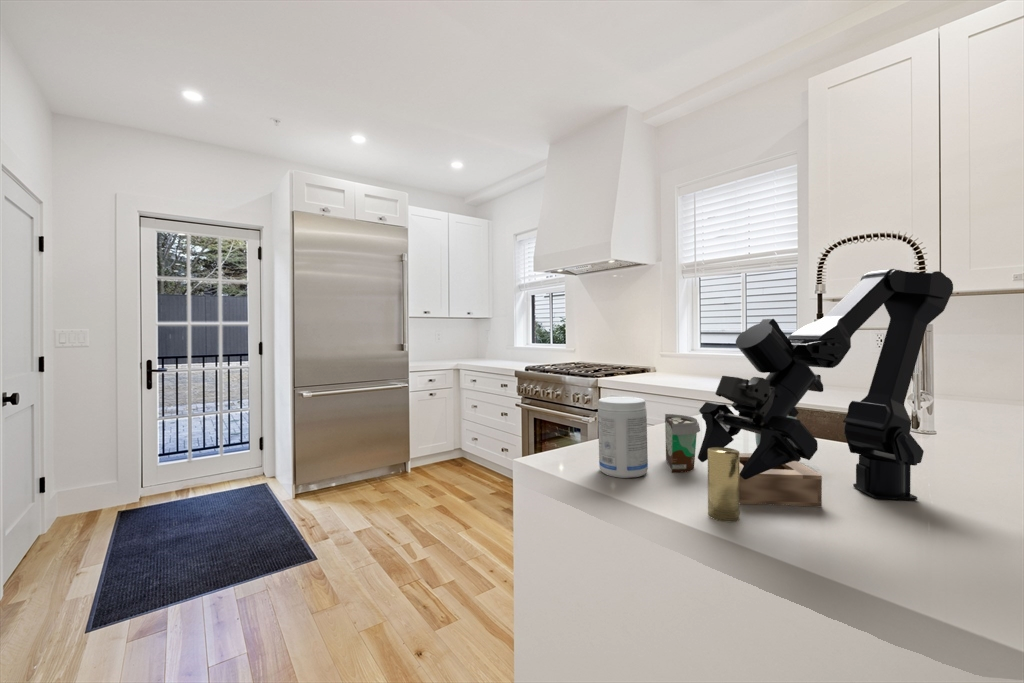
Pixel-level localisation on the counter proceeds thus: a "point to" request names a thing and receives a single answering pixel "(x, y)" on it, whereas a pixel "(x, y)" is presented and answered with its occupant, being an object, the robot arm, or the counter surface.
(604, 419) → the supplement tub
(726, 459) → the brass cylinder
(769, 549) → the counter surface
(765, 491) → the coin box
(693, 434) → the food container
